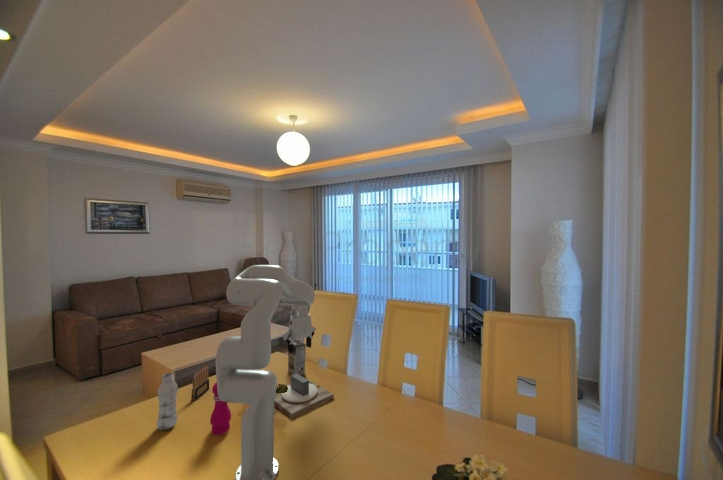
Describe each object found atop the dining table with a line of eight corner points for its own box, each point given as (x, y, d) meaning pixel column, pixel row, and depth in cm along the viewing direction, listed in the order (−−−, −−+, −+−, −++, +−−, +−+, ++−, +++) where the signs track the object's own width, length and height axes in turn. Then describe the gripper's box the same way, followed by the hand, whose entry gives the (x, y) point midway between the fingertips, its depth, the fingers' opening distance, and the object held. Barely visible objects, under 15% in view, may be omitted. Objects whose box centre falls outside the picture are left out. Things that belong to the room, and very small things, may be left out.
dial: (324, 393, 136) (324, 378, 136) (294, 407, 124) (294, 390, 124) (304, 381, 147) (304, 367, 147) (274, 393, 135) (275, 377, 135)
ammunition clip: (205, 389, 143) (205, 364, 143) (209, 389, 143) (209, 364, 143) (191, 400, 133) (191, 374, 133) (195, 401, 132) (195, 374, 133)
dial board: (333, 398, 136) (333, 393, 136) (291, 418, 120) (291, 412, 120) (305, 382, 151) (305, 377, 151) (265, 398, 135) (265, 393, 135)
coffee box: (287, 370, 164) (287, 341, 164) (298, 367, 168) (298, 339, 168) (294, 376, 157) (294, 346, 157) (305, 373, 161) (305, 343, 161)
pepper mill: (222, 437, 108) (223, 382, 108) (205, 434, 110) (206, 380, 110) (235, 425, 115) (235, 373, 116) (218, 422, 117) (219, 372, 117)
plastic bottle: (152, 429, 112) (153, 376, 112) (171, 420, 118) (171, 370, 118) (162, 434, 109) (163, 380, 109) (181, 424, 115) (181, 373, 115)
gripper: (287, 317, 127) (287, 357, 127) (320, 310, 139) (320, 346, 139) (278, 314, 132) (278, 352, 132) (310, 307, 144) (310, 342, 144)
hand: (299, 349), depth 136 cm, fingers open, 9 cm apart
